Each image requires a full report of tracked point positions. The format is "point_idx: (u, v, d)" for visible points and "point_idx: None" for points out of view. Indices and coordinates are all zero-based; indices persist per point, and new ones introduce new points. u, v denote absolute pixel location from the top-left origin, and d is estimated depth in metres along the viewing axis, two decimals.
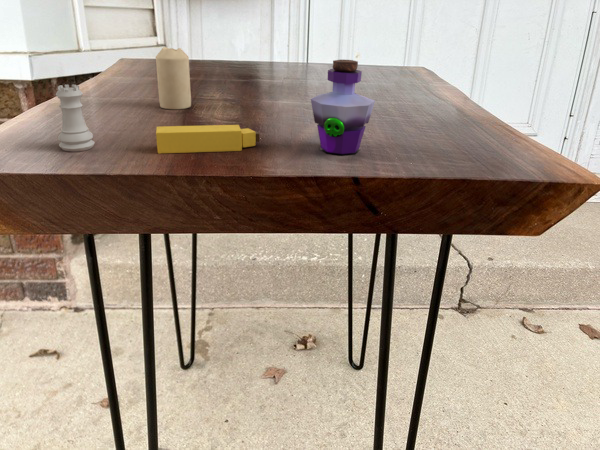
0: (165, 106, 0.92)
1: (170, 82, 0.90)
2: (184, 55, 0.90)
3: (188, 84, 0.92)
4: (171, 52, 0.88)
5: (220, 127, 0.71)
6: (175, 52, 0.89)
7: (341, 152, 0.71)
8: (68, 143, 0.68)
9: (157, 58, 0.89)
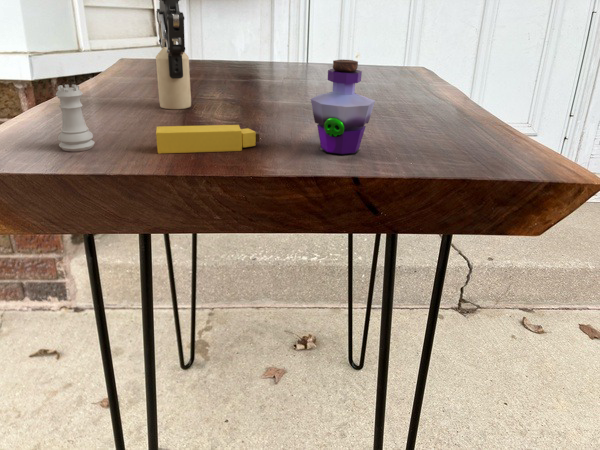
0: (165, 106, 0.92)
1: (170, 82, 0.90)
2: (184, 55, 0.90)
3: (188, 84, 0.92)
4: None
5: (220, 127, 0.71)
6: None
7: (341, 152, 0.71)
8: (68, 143, 0.68)
9: (157, 58, 0.89)
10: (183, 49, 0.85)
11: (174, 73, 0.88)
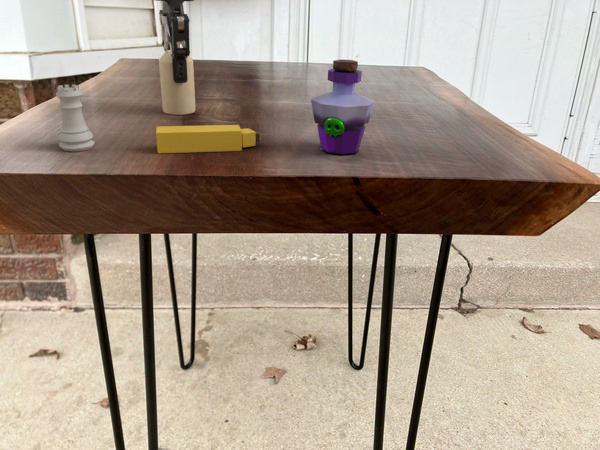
0: (169, 111, 0.88)
1: (174, 86, 0.86)
2: (188, 58, 0.86)
3: (192, 88, 0.88)
4: None
5: (220, 127, 0.71)
6: None
7: (341, 152, 0.71)
8: (68, 143, 0.68)
9: (160, 62, 0.85)
10: (188, 53, 0.82)
11: (178, 77, 0.84)
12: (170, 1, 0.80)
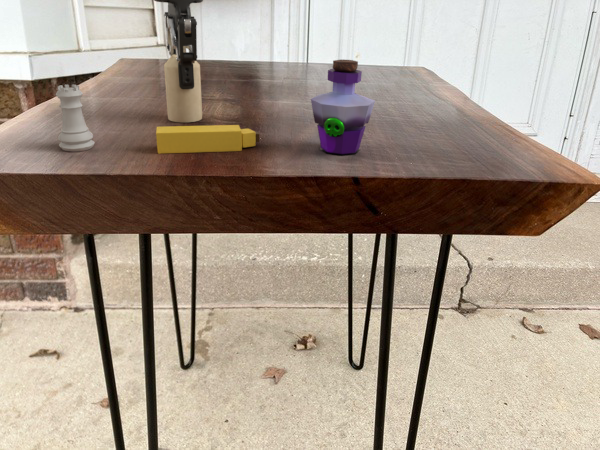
0: (174, 119, 0.84)
1: (180, 92, 0.82)
2: (195, 63, 0.82)
3: (199, 95, 0.84)
4: None
5: (220, 127, 0.71)
6: None
7: (341, 152, 0.71)
8: (68, 143, 0.68)
9: (166, 67, 0.81)
10: (195, 57, 0.77)
11: (184, 83, 0.80)
12: (176, 3, 0.75)
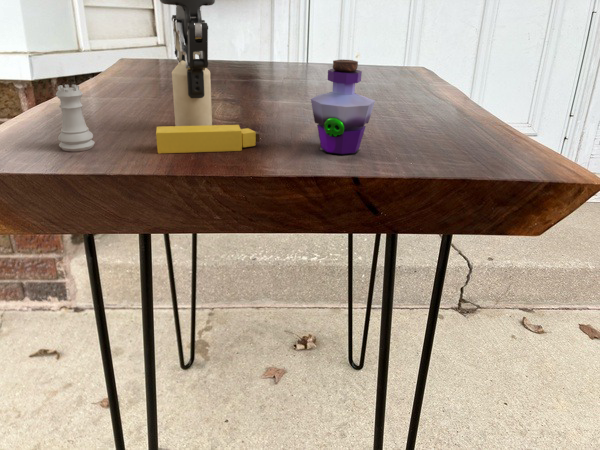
0: None
1: (189, 102, 0.76)
2: (205, 70, 0.76)
3: (209, 104, 0.78)
4: None
5: (220, 127, 0.71)
6: None
7: (341, 152, 0.71)
8: (68, 143, 0.68)
9: (174, 74, 0.75)
10: (206, 64, 0.71)
11: (194, 92, 0.74)
12: (186, 5, 0.69)
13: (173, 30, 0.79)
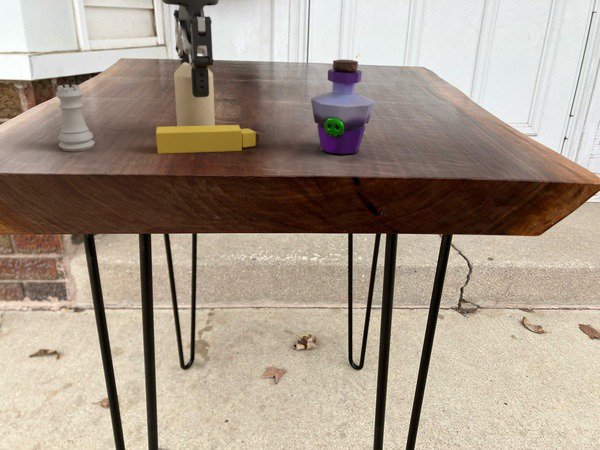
0: None
1: (192, 104, 0.74)
2: (208, 72, 0.74)
3: (212, 106, 0.77)
4: None
5: (220, 127, 0.71)
6: None
7: (341, 152, 0.71)
8: (68, 143, 0.68)
9: (176, 76, 0.74)
10: (211, 60, 0.68)
11: (198, 91, 0.71)
12: (189, 5, 0.68)
13: None
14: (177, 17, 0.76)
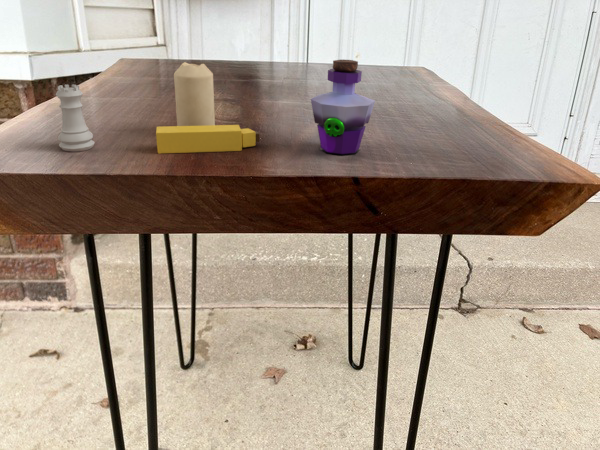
0: None
1: (192, 104, 0.74)
2: (208, 72, 0.74)
3: (212, 106, 0.77)
4: (193, 69, 0.73)
5: (220, 127, 0.71)
6: (197, 69, 0.74)
7: (341, 152, 0.71)
8: (68, 143, 0.68)
9: (176, 76, 0.74)
10: None
11: None
12: None
13: None
14: None
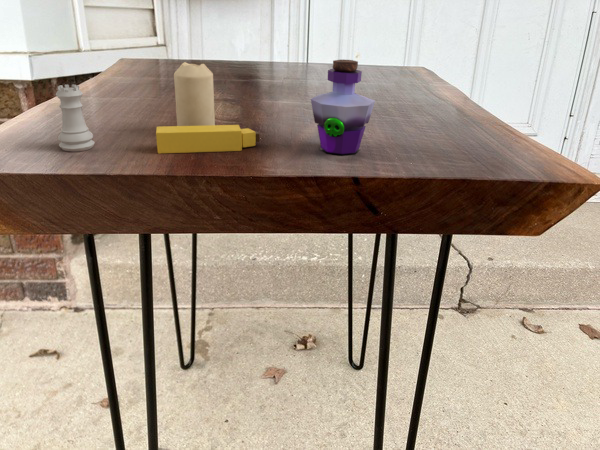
0: None
1: (192, 104, 0.74)
2: (208, 72, 0.74)
3: (212, 106, 0.77)
4: (193, 69, 0.73)
5: (220, 127, 0.71)
6: (197, 69, 0.74)
7: (341, 152, 0.71)
8: (68, 143, 0.68)
9: (176, 76, 0.74)
10: None
11: None
12: None
13: None
14: None
